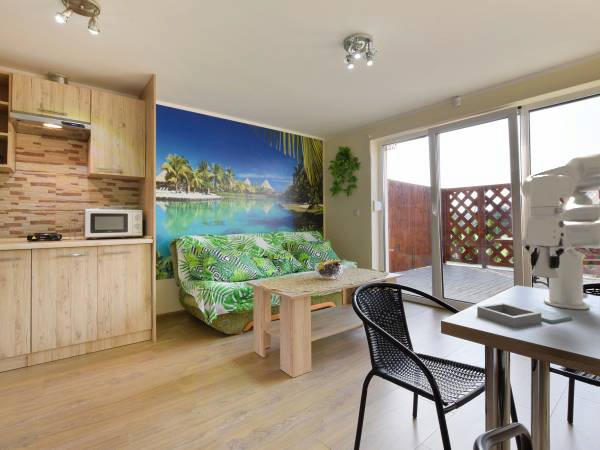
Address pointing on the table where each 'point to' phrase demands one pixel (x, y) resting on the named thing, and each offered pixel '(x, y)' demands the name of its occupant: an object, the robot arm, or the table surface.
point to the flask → (544, 264)
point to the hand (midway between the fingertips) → (544, 266)
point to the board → (551, 316)
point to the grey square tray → (519, 318)
